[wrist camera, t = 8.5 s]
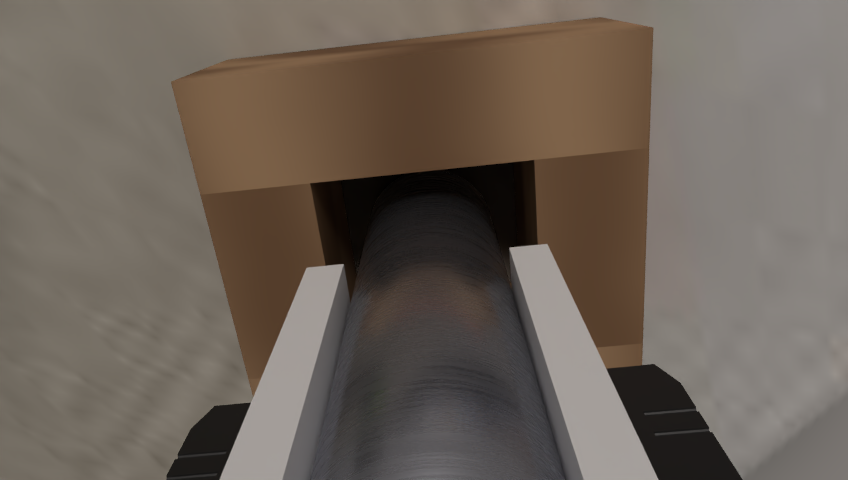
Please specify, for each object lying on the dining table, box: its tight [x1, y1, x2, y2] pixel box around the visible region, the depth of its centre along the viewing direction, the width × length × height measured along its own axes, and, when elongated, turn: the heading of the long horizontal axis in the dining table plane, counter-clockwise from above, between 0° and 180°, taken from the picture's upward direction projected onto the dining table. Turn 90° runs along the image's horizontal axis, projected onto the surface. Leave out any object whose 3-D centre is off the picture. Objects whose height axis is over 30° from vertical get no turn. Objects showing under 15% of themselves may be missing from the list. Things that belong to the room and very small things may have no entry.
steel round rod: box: [310, 170, 566, 480], centre depth 11 cm, size 3×3×14 cm
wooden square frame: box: [171, 17, 653, 397], centre depth 16 cm, size 10×10×4 cm
